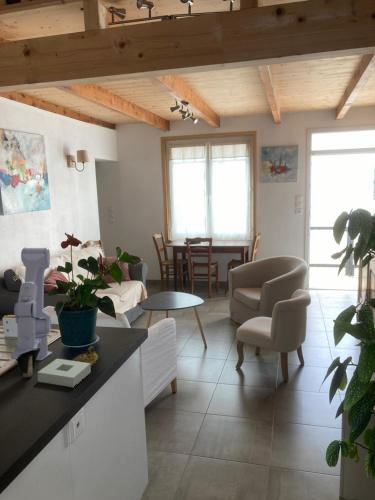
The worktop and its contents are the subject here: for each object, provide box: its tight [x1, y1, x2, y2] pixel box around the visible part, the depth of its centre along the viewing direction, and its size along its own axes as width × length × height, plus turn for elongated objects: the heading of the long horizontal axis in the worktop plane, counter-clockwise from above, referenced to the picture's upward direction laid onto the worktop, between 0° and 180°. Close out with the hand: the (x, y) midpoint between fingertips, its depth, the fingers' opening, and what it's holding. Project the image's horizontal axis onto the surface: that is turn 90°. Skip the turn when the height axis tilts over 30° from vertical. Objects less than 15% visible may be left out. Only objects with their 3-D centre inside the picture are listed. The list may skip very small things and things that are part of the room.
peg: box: [22, 355, 34, 378], centre depth 143 cm, size 3×3×7 cm
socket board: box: [37, 358, 92, 388], centre depth 144 cm, size 14×12×4 cm
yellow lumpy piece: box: [71, 345, 99, 367], centre depth 157 cm, size 9×5×15 cm
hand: (27, 370), depth 143 cm, fingers closed on peg, 3 cm apart
